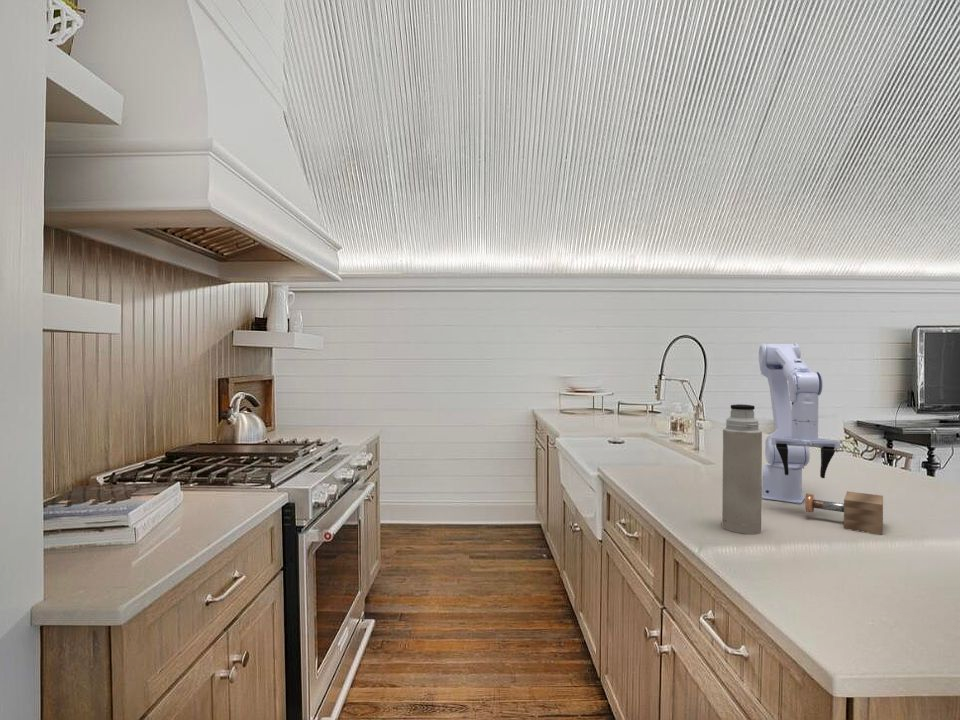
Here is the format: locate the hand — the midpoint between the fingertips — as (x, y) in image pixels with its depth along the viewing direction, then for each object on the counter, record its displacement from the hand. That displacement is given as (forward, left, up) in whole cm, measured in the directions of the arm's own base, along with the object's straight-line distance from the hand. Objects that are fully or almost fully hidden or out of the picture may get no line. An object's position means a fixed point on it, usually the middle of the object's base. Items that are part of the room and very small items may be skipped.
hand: (804, 475), depth 137 cm
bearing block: (+12, -3, -10) cm, 16 cm away
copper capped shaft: (+6, -3, -8) cm, 11 cm away
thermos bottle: (-10, -22, -10) cm, 26 cm away
